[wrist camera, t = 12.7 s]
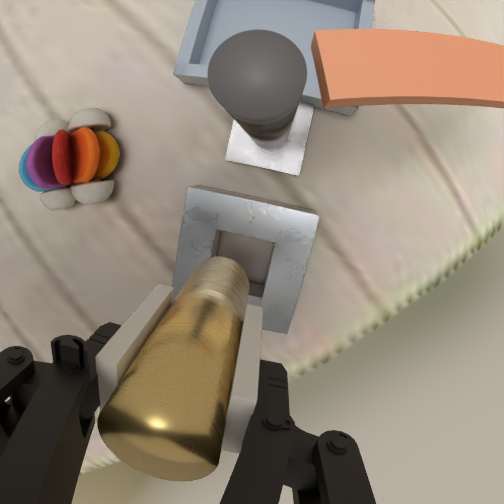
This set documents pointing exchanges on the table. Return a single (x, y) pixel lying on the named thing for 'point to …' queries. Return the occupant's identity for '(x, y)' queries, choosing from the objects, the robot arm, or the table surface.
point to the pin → (181, 380)
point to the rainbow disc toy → (71, 160)
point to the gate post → (272, 141)
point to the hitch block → (257, 226)
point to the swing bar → (354, 71)
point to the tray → (273, 19)
